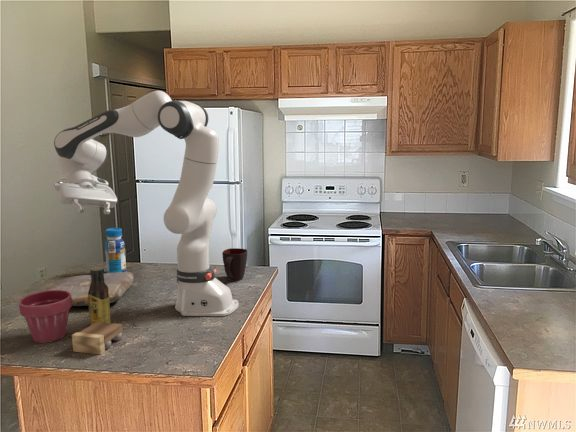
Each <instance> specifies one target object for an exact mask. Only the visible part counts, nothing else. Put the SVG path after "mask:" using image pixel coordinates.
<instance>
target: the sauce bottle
mask: <svg viewBox="0 0 576 432" xmlns="http://www.w3.org/2000/svg"><path fill="white" fill-rule="evenodd" d="M89 272H90V275H91V285H90V288H89V291H88V304H89V306H88V316H89V317H88V318H89V326H90V325H92V324H94V323H95V322H103V323H111V308H110V306H111V305H110V304H111V303H109V293H108V286H107V285H106V284H105V282H104V274H105V267H103V266H94V267H91V268H90V270H89Z"/></svg>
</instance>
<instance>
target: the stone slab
mask: <svg viewBox="0 0 576 432" xmlns="http://www.w3.org/2000/svg"><path fill="white" fill-rule="evenodd" d="M134 280H135V276H134V274H133V272H131V271H126V272H116V273H107V272H106V273H104V282H105V284H106V285H107V286H108V293H109V304H111V303H115V302H117V301H119V300H121V298H122V297H123V295H125V293H126V292H127V291H128V290H129V288H131V286H132V284H133V282H134ZM90 285H91V274H83V275H81V274H80V275H75V276H74V275H73V276H69V277H65V278H63V279H60V280H57V281H55V282H53V283H52V284H51V285H50V286H49V287H47V289H46V290H45V291H48V290H65V291H68V292H70V293H71V298H72V306H71V307H86V306H87V307H89V304H88V291H89V288H90Z"/></svg>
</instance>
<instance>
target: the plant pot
mask: <svg viewBox="0 0 576 432" xmlns="http://www.w3.org/2000/svg"><path fill="white" fill-rule="evenodd" d="M18 306H19V314H20V315H21V316H22V317H24V320H25V322H26V325H27V328H28V330H29V332H30V334H31V337H32V340H33V341H34V343H35V342H36V343H38V344H39V343H40V344H42V343H51V342H56V341H58V340H60V339H62V338H64V337H65V336H66V334H67V326H68V321H69V312H70V309H71V307H73V306H72V298H71V293H70V292H68V291H65V290H48V291H46V290H42V291H37V292H34V293H30V294H27V295H26V296H23V297H22V298H20V300H19V302H18Z"/></svg>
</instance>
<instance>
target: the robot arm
mask: <svg viewBox="0 0 576 432" xmlns="http://www.w3.org/2000/svg"><path fill="white" fill-rule="evenodd" d="M208 124H209V114H208V112H207V110H206V109H205V108H204V107H203V106H202V105H200V104H198V103H195V102H192V101H191V102H190V101H187V100H172V98H171V97H170V95H168V94H167V93H166V92H165V91H163V90H154V91H151V92H149V93H147V94H145V95H143V96H141V97H140V98H138V99H137V100H135V101H133V102H131V103H130V104H128V105H126V106H123V107H121V108H116V109H110V110H105V111H102V112H101V113H98V114H97V115H95V116H93V117H91V118H90V119H88V120H87V119H86V120H85V121H83V122H81V123H79V124H77V125H75V126H73V127H68V128H64V129H63V130H61V131H60V132H59V133H57V135H55V137H54V143H53V146H54V149H55V152H56V153H57V156H58V166H59V170H60V172H61V174H62V176H63V177H64V179H65V182H63V181H57V182H55V183H54V184H53V187H54V189H55V190H56V196H57V200H58V202H59V203H60V204H63V205H71V206H72V207H73V208H74V209H76V210H77V212H78V213H84V211H85V207H94V208H95V207H97V208H103V211H102V212H103V214H104V215H110V214H111V210H110V209H112V208H114V207H116V205H117V203H118V197H117V195H116V194H115V192H114V190H113V189H112V188H111V187H110V186H109V182H108V181H107V180H105V179H104V178H103V179H102V178H99V177H98V176H95V175H94V174H93V173H95V172H96V171H98V170H99V169H100V168H102V167H103V166H104V165H105V163H106V161H107V159H108V150H107V148H106V146H105V145H104V144H103V143H101V142H99V141H97V140H95V139H94V138H96V137H97V136H101V135H102V134H107V133H109V134H110V133H111V134H119V135H123V136H127V137H132V138H140V137H143V136H146V135H148V134H149V133H151V132H152V131H154V130H155V129H157V128H158V127H161V128H162V129H163V130H164V131H165V132H166V133H169V134H171V135H173V136H174V137H175V138H177V139H179V140H184V142H185V149H184V156H183V163H182V168H181V173H180V178H179V181H178V185H177V188H176V190H175V193H174V195H173V198H172V200H171V202H170V204H169V206H168V207H167V209H166V210H165V212H164V214H163V223H164V226H165V228H166V229H167V230H168V231H169V232H171V233H173V234H176V235H180V238H179V242H178V244H177V247H176V259H177V269H176V282H177V296H176V302H175V307H174V308H175V310H176V311H177V312H178V313H180V315H181V316H183V317H184V316H185V317H186V316H187V317H225V316H228V315H231V314H232V313H234V312H235V311H236V310H237V309H238V308H239V306H240V305H239V301H238V300H237V299H233V295H232V292H231V289H230V287H228V286H227V285H226V284H224V283H223V282H222V281H220V280H219V279H218V278H216V277H215V276H216V272H217V268H215V269H212V267H211V266H210V241H211V234H212V228H213V222H214V220H215V217H216V215H217V205H216V203H215V201H213V199H211V198H209V197H208V195H209V192H210V190H211V189H212V187H213V185H214V181H215V176H216V169H217V164H218V158H219V148H220V147H219V141H220V140H219V136H218V133H217V132H216V131H215V130H214V129H213V128H210V127H208ZM84 206H85V207H84Z"/></svg>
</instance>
